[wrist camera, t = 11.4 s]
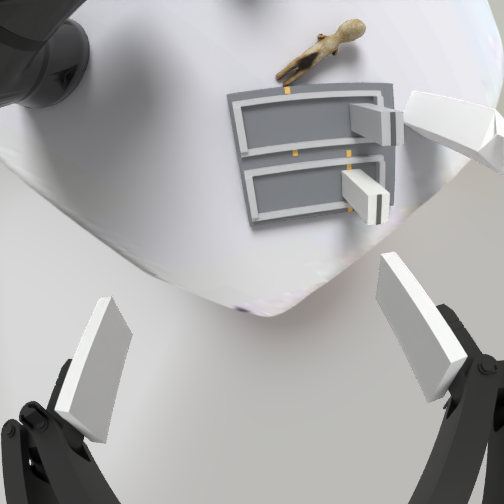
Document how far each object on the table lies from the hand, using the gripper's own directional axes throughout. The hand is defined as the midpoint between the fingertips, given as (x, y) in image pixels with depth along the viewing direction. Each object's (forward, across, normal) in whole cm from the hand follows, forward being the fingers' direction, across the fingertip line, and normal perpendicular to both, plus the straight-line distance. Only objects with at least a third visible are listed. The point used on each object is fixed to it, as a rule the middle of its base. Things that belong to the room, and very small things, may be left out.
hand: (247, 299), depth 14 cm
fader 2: (+31, +16, -7) cm, 35 cm away
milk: (+33, +30, +3) cm, 45 cm away
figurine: (+33, +14, +13) cm, 38 cm away
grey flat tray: (+33, +12, -2) cm, 35 cm away
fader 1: (+31, +18, +3) cm, 36 cm away
